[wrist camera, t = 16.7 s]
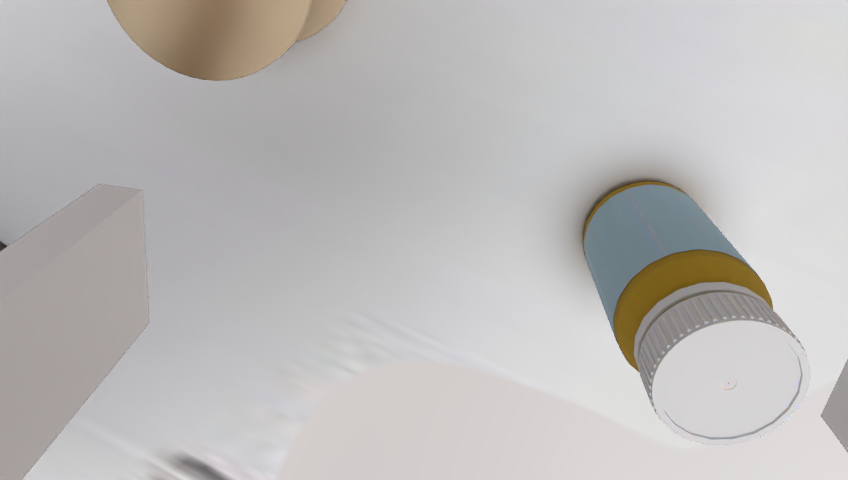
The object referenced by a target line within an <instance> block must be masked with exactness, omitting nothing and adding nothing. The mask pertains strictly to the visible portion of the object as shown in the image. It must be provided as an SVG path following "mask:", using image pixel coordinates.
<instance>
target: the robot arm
mask: <svg viewBox="0 0 848 480" xmlns="http://www.w3.org/2000/svg"><path fill="white" fill-rule="evenodd" d="M148 324H149V306H148V287H147V269H146V250H145V232H144V213H143V195H142V190H139V189H132V188H125V187H118V186H110V185H103V184H98V185H97V186H95V187H94V188H92V189H91V190H89V191H88V192H86V193H85V194H84V195H82V196H81V197H79V198H78V199H76V200H75V201H73V202H72V203H70V204H69V205H67V206H66V207H65V208H63V209H62V210H60V211H59V212H57V213H56V214H54V215H53V216H51V217H50V218H48V219H47V220H45V221H44V222H43V223H41V224H40V225H38V226H37V227H35V228H34V229H32V230H31V231H29V232H28V233H26V234H25V235H24V236H22V237H21V238H19V239H18V240H16V241H15V242H13V243H12V244H10V245H9V246H7V247H4V246H3V245H1V244H0V480H22V479H23V478H24V477H25V475H26V474H27V473H28V472H29V471H30V469H31V468H32V467H33V466H34V464H35V463H36V462H37V461H38V459H39V458H40V457H41V456H42V455H43V453H44V452H45V451H46V450H47V448H48V447H49V446H50V445H51V443H52V442H53V441H54V440H55V438H56V437H57V436H58V435H59V434H60V432H61V431H62V430H63V429H64V427H65V426H66V425H67V424H68V422H69V421H70V420H71V419H72V418H73V416H74V415H75V414H76V413H77V411H78V410H79V409H80V408H81V406H82V405H83V404H84V403H85V401H86V400H87V399H88V398H89V397H90V395H91V394H92V393H93V392H94V390H95V389H96V388H97V387H98V385H99V384H100V383H101V382H102V381H103V379H104V378H105V377H106V376H107V374H108V373H109V372H110V371H111V369H112V368H113V367H114V366H115V364H116V363H117V362H118V361H119V360H120V358H121V357H122V356H123V355H124V353H125V352H126V351H127V350H128V348H129V347H130V346H131V345H132V344H133V342H134V341H135V340H136V339H137V337H138V336H139V335H140V334H141V332H142V331H143V330H144V329H145V328H146V326H147V325H148ZM821 417H822V418H823V420H824V421H825V422H826V424H827V425H828V426H829V428H830V429H831V430H832V432H833V433H834V434H835V436H836V437H837V439H838V440H839V441H840V443H841V444H842V445H843V447H844V448H845V449H846V451H847V452H848V360H847V362H846V364H845V366H844V368H843V370H842V372H841V374H840V376H839V378H838V380H837V383H836V385H835V387H834V389H833V391H832V393H831V395H830V397H829V399H828V401H827V404H826V406H825V408H824V410H823V412H822V414H821Z"/></svg>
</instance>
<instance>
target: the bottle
mask: <svg viewBox="0 0 848 480" xmlns="http://www.w3.org/2000/svg"><path fill="white" fill-rule="evenodd" d="M583 248H584V254H585V257H586V261H587V263H588V266H589V269H590V271H591V274H592V277H593V280H594V282H595V285H596V288H597V290H598V293H599V296H600V298H601V301H602V304H603V306H604V309H605V312H606V314H607V317H608V320H609V322H610V325H611V328H612V330H613V333H614V336H615V338H616V341H617V343H618V345H619V347H620V349H621V351H622V353H623V355H624V356H625V358H626V360H627V361H628V363H629V364H630V365H631V366H632V367H634V368H635V369H636V370H637V371H638V372H640V376H641V378H642V382H643V384H644V387H645V389H646V392H647V394H648V397H649V399H650V402H651V404H652V407H653V408H654V410H655V412H656V414H657V415H658V416H659V418H660V419H661V420H662V421H663V422H664V424H665V425H666V426H667V427H668V428H670V429H671V430H672V431H673V432H675V433H676V434H678V435H680V436H682V437H684V438H686V439H688V440H691V441H694V442H698V443H702V444H708V445H731V444H738V443H743V442H747V441H750V440H753V439H756V438H758V437H761V436H763V435H765V434H767V433H769V432H771V431H773V430H774V429H776V428H778V427H779V426H780V425H782V424H783V423H784V422H785V421H787V419H789V418H790V417H791V415H793V414H794V413H795V411H796V410H797V409H798V407H799V406H800V404H801V403H802V401H803V399H804V397H805V395H806V393H807V390H808V387H809V382H810V366H809V362H808V358H807V355H806V354H805V349H804V348H803V347H802V344H801V343H800V341H799V340H798V339H797V338H796V336H795V335H794V334H793V333H792V332H791V330H790V329H789V328H788V327H787V325H786V324H785V323H784V322H783V321H782V319H781V318H780V317H779V316H778V315H777V313H775V312H774V311H773V306H772V300H771V297H770V295H769V293H768V291H767V288H766V286H765V284H764V283H763V282H762V280H761V279H760V278H759V276H758V275H757V273H756V272H755V271H754V270H753V269H752V268H751V266H750V265H749V264H748V263H747V262H746V261H745V259H744V258H743V257H742V256H741V255H740V254H739V253H738V251H737V250H736V249H735V248H734V247H733V246H732V244H731V243H730V242H729V241H728V240H727V239H726V237H725V236H724V235H723V234H722V233H721V232H720V231H719V229H718V228H717V227H716V226H715V225H714V224H713V222H712V221H711V220H710V219H709V218H708V217H707V215H706V214H705V213H704V212H703V211H702V210H701V208H700V207H699V206H698V205H697V204H696V203H695V202H694V201H693V200H692V199H691V198H690V197H689V196H688V195H687V194H686V193H685V192H683V191H682V190H680V189H678V188H676V187H674V186H671V185H669V184H666V183H661V182H651V181H645V182H639V183H633V184H629V185H626V186H623V187H621V188H619V189H617V190H615V191H613V192H611V193H610V194H609V195H607V196H606V197H605V198H604V199H603V200H602V201H601V202H600V203H598V204H597V205H596V207H595V208H594V209H593V211H592V213H591V214H590V216H589V218H588V219H587V222H586V224H585V229H584V233H583Z"/></svg>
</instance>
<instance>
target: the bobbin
mask: <svg viewBox="0 0 848 480" xmlns="http://www.w3.org/2000/svg"><path fill="white" fill-rule="evenodd" d="M107 2H108V4H109V6H110V8H111V10H112V12H113V14H114V16H115V17H116V19H117V20H118V22H119V23H120V25H121V26H122V28H123V29H124V31H125V32H126V33H127V34H128V35H129V37H130V38H131V39H132V40H133V41H134V42H135V43H136V44H137V45H138V46H139V47H140V48H141V49H142V50H143V51H144V52H145V53H147V54H148V55H149V56H150V57H152V58H153V59H154V60H156V61H157V62H159V63H161V64H162V65H164V66H165V67H167V68H169V69H172V70H174V71H176V72H178V73H181V74H184V75H187V76H189V77H193V78H198V79H203V80H215V81H220V80H232V79H237V78H242V77H245V76H248V75H250V74H253V73H255V72H257V71H259V70H261V69H263V68H265V67H266V66H268V65H269V64H271V63H272V62H274V61H275V60H276V59H278V58H279V57H281V56H282V55H283V54H284V53H285V52H286V51H287V50H288V49H289V48H290V47H291V46H292V44H293V43H294V42H296V41H300V40H303V39H306V38H308V37H310V36H312V35H314V34H316V33H317V32H319V31H320V30H322V29H323V28H324V27H326V26H327V25H328V24H329V23H330V22H331V21H332V20H333V19H335V17H336V16H337V15H338V13H339V12H340V11H341V9H342V7H343V6H344V4H345V2H346V0H107Z"/></svg>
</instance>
